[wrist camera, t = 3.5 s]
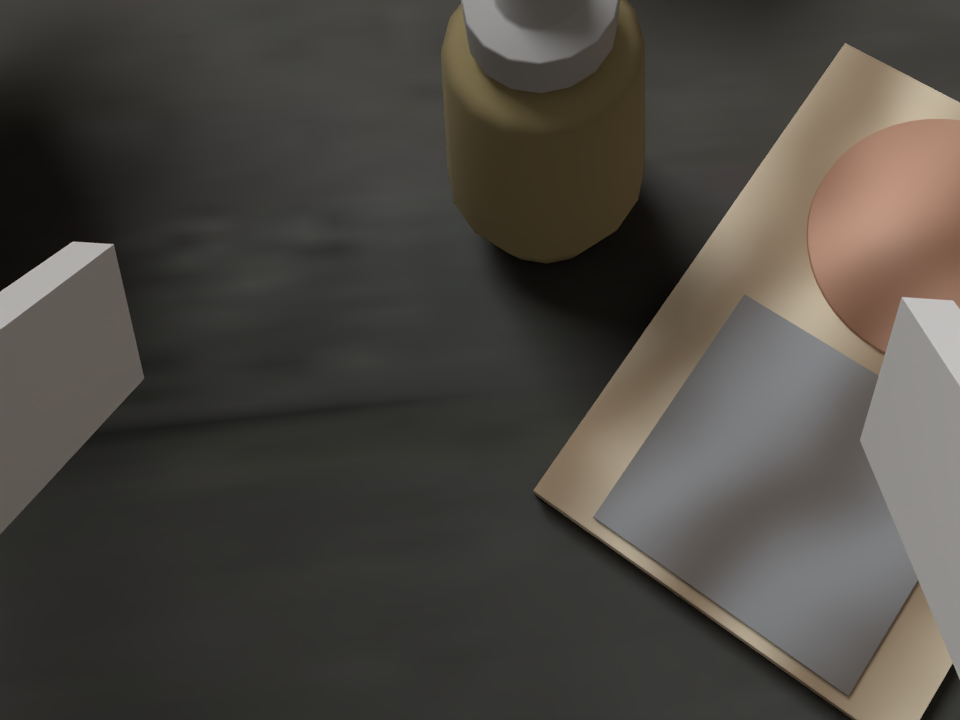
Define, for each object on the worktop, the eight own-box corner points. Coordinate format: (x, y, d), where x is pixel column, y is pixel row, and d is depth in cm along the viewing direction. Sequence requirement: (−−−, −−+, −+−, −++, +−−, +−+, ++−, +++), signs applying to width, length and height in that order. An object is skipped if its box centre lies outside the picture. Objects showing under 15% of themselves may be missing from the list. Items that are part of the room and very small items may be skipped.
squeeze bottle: (460, 126, 40) (383, -226, 22) (634, 121, 39) (696, -246, 22) (455, 289, 38) (367, 43, 20) (639, 288, 37) (711, 31, 20)
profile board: (534, 494, 35) (532, 489, 33) (834, 63, 39) (847, 39, 37) (885, 743, 32) (904, 752, 30) (1179, 244, 35) (1211, 227, 33)
